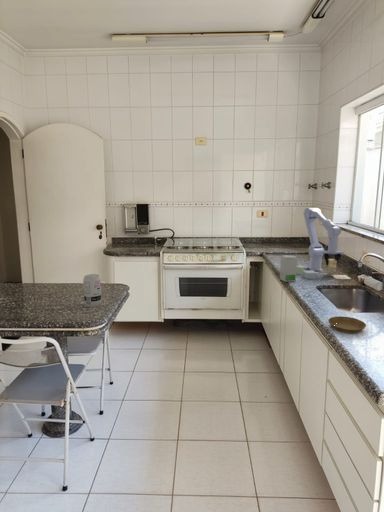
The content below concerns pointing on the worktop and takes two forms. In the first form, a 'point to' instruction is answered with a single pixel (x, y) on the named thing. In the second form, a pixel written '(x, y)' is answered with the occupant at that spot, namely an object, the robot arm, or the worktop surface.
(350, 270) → the worktop surface
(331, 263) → the maple block
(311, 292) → the worktop surface
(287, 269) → the skincare box
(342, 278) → the card
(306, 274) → the blue-grey base block
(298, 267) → the sage block
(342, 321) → the plant saucer
